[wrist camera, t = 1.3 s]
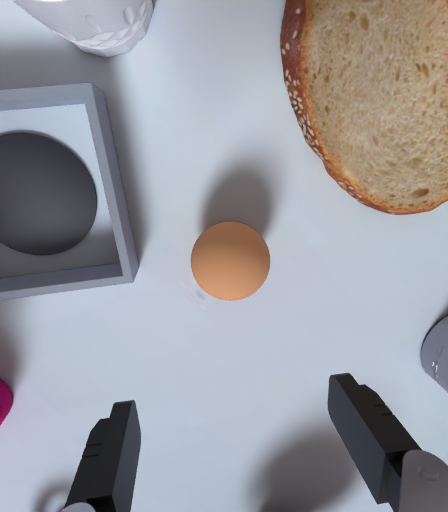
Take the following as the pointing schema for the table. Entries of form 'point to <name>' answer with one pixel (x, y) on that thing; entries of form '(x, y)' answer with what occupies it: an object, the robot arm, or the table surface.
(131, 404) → the robot arm
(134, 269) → the corral
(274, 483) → the table surface
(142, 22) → the white cup
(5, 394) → the pepper mill
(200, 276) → the ball
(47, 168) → the pad
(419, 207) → the slice of bread
